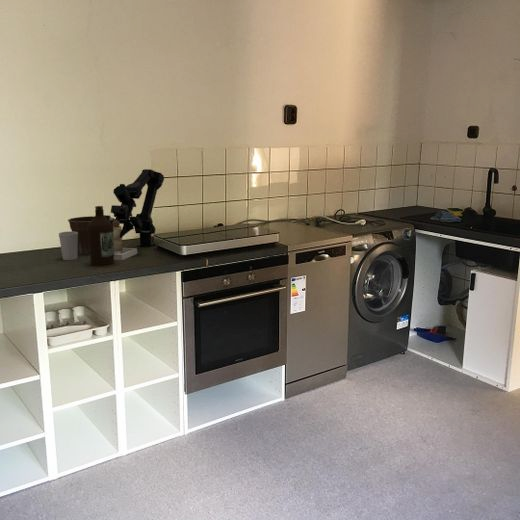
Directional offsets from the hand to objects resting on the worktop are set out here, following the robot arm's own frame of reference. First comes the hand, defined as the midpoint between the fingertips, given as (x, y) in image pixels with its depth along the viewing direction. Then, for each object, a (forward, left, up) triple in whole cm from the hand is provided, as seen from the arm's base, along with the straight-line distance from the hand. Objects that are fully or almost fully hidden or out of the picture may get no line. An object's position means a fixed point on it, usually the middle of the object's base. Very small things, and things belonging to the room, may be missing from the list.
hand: (115, 237), depth 260 cm
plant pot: (-6, -18, -10) cm, 21 cm away
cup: (+9, -18, -10) cm, 22 cm away
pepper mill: (-1, 0, -7) cm, 7 cm away
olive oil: (+14, +1, -10) cm, 17 cm away
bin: (-1, 0, -9) cm, 10 cm away
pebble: (+3, +2, -9) cm, 10 cm away
